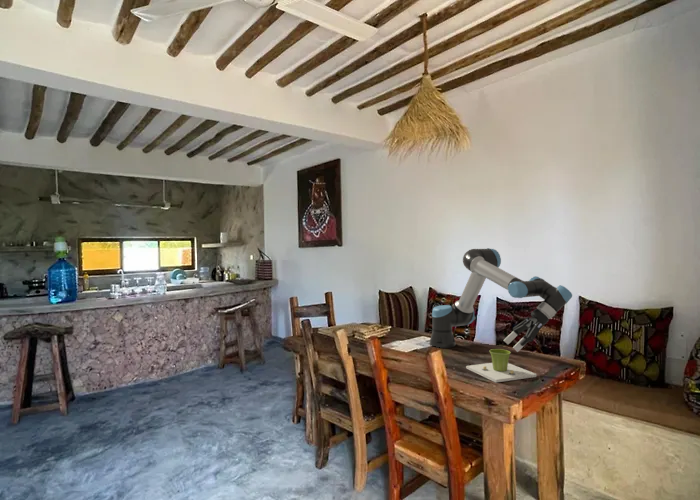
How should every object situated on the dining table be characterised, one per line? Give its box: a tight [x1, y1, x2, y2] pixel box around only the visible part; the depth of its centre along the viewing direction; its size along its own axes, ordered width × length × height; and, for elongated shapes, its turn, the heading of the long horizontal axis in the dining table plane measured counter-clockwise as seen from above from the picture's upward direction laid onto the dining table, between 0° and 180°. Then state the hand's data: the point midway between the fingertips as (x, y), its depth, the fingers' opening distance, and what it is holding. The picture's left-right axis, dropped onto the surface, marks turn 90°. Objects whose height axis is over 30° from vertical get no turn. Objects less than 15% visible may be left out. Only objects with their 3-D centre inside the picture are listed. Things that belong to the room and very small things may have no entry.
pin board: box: [465, 362, 538, 383], centre depth 190 cm, size 22×22×3 cm
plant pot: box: [488, 348, 512, 371], centre depth 190 cm, size 9×9×9 cm
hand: (510, 346), depth 188 cm, fingers open, 13 cm apart
